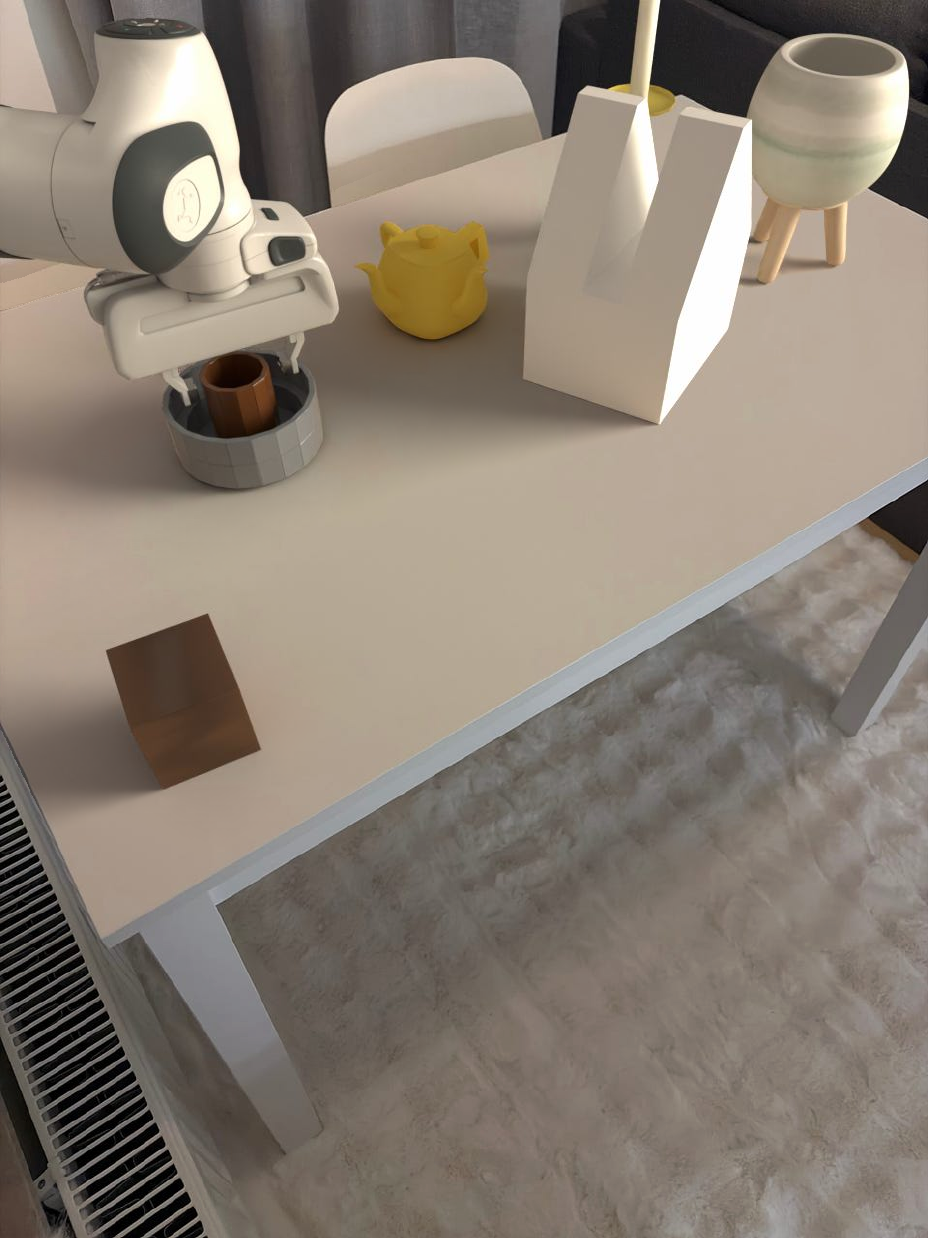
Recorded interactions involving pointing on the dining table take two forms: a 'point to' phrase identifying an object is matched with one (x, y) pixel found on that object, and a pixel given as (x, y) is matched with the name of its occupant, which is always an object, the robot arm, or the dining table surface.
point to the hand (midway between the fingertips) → (241, 385)
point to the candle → (646, 62)
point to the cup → (239, 394)
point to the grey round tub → (255, 454)
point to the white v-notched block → (637, 254)
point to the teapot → (430, 278)
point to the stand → (182, 701)
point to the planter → (823, 134)
